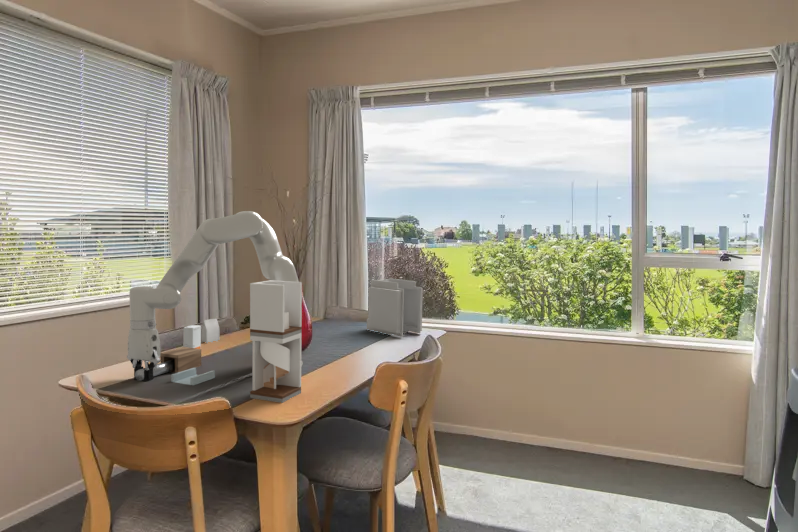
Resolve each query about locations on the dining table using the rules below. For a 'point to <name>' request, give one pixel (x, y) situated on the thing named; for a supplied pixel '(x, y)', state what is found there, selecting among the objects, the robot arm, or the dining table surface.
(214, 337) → the light grey block
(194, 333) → the skincare box
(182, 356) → the hollow wooden box
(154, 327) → the robot arm
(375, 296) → the grey file holder
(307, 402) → the dining table surface
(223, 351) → the dining table surface
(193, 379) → the cradle
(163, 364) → the axle
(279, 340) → the spiral staircase model
